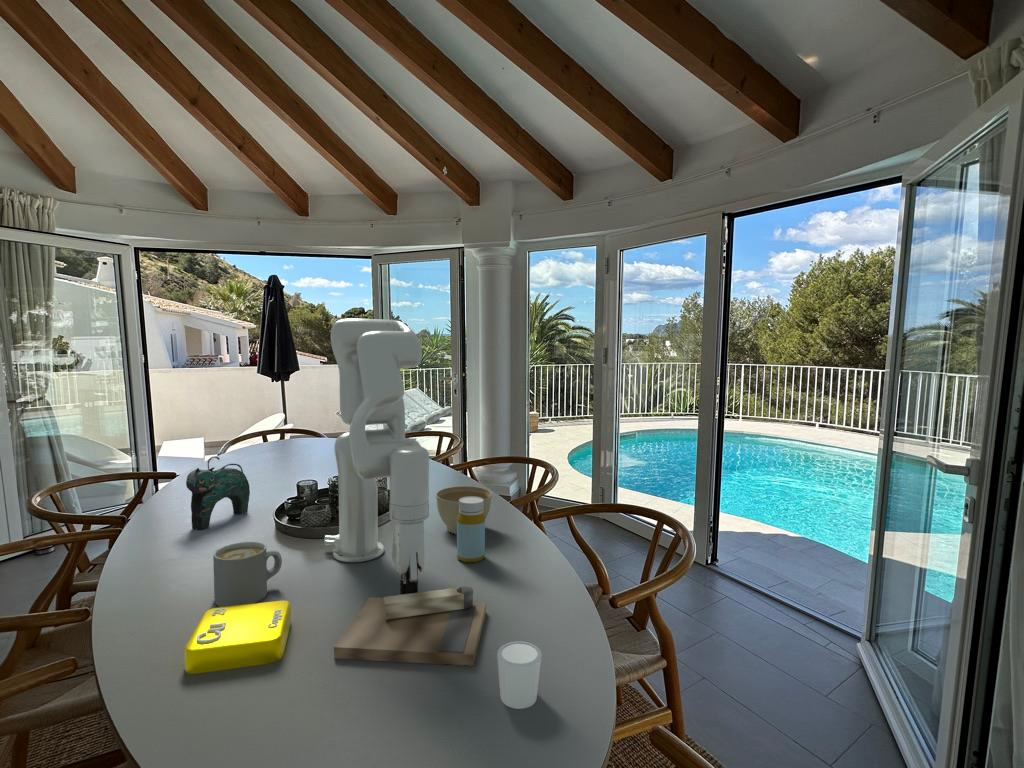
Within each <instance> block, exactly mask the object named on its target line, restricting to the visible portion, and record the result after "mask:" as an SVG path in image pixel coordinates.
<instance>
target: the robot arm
mask: <svg viewBox="0 0 1024 768" xmlns="http://www.w3.org/2000/svg"><path fill="white" fill-rule="evenodd" d="M330 344H331V349H332V352H333V356H334V358H335V362H336V364H337V366H338V371H339V373H338V374H339V411H340V412H339V413H340V418H341V420H342V422H343V423H344V424H345V425H349V431H347V432H344V433H342V434H340V435H339V436H337V438H336V440H335V442H334V447H333V448H334V449H333V450H334V456H335V463H336V468H337V478H338V479H337V480H338V534H337V535H332V534H330V535H329V534H325V535H324V539H323V542H324V546H333V547H334V548H333V550H332V557H333V558H334V559H336V560H337V561H339V562H343V563H362V562H369V561H371V560H374V559H376V558H379V557H381V556H382V554H384V552H385V545H384V544H383V543H381V542H380V541H378V540H379V538H378V535H379V533H378V525H379V523H378V522H379V520H378V518H379V517H378V515H379V514H378V509H379V508H378V507H379V506H378V505H379V504H378V503H379V502H378V501H379V500H378V499H379V498H378V497H379V496H378V495H379V494H378V492H379V491H378V484H377V480H376V479H384V478H389V520H391V522H392V524H393V525H392V544H391V545H392V548H391V557H392V562H393V565H394V568H395V570H396V573H398V574H399V575H400V580H399V581H400V582H399V584H400V585H399V588H400V591H399V595H403V594H411V593H419V581H418V579H419V578H418V577H419V572H420V573H422V572H423V571H424V569H425V567H424V566H425V525H424V523H425V522H424V521H426V520H427V519H429V517H430V516H429V515H430V510H429V509H430V452H429V451H428V449H427V448H425V447H424V446H422V445H421V444H420V442H419V441H418V440H416V439H414V438H406V411H405V410H406V409H405V406H406V405H405V401H404V396H405V387H404V383H403V378H402V374H401V368H403V369H406V368H407V369H408V368H411V369H412V368H416V367H417V366H419V364H421V361H422V357H423V347H422V344H421V341H420V339H419V337H418V335H417V334H416V333H415V331H414V330H413V329H411V328H410V326H407V325H406V324H405V323H404V322H402V321H401V320H397V319H380V318H379V319H377V318H376V319H375V318H362V317H361V318H360V317H359V318H357V317H356V318H355V317H354V318H353V317H352V318H349V317H348V318H343V319H338V320H337V321H335V322H334V323H333V325H332V326H331V329H330ZM371 425H373V426H374V425H383V426H384V428H382V429H366V426H371Z"/></svg>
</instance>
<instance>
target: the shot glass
mask: <svg viewBox="0 0 1024 768" xmlns="http://www.w3.org/2000/svg"><path fill="white" fill-rule="evenodd" d="M542 654H543V653H542V651H541V649H540V648H539V646H537V645H535V644H534V643H531V642H527V641H519V640H518V641H517V640H516V641H509V642H508V643H505V644H503V645H501V646H500V647H499V648H498V649H497V654H496V659H497V672H498V681H499V682H498V685H499V696H500V699H501V702H502V703H503V704H504V705H505V706H507V707H509V708H512V709H517V710H518V709H519V710H522V709H528V708H529V707H531V706H534V704H535V703H536V702H537V699H538V698H537V697H538V692H539V691H538V689H539V682H540V681H539V680H540V672H541V665H542V664H541V663H542Z"/></svg>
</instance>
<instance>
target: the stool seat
mask: <svg viewBox="0 0 1024 768" xmlns="http://www.w3.org/2000/svg"><path fill="white" fill-rule="evenodd" d="M486 613H487V602H474V601H473V606H472V607H471V608H468V609H459V610H452V611H445V612H437V613H430V614H423V615H416V616H409V617H401V618H394V619H387V620H385V615H384V597H368V599H367V600H366V601H365V603H364V604H363V605H362V607H361V609H360V610H359V612H358V613H357V614H356V615H355V617H354V618H353V619H352V621H351V622H350V623H349V625H348V626H347V628H346V629H345V631H344V633H343V634H342V635H341V637H339V640H338V641H337V642H336V644H335V645H334V647H333V657H334V659H338V660H339V659H340V660H356V661H359V660H360V661H376V662H392V663H393V662H394V663H396V662H397V663H411V664H413V663H414V664H415V663H416V664H429V663H430V664H431V665H445V664H451V665H450V666H464V665H468V667H474V665H475V662H476V661H475V660H476V657H477V652H478V648H479V645H480V640H481V635H482V632H483V631H482V630H483V626H484V622H485V617H486ZM474 661H475V662H474Z"/></svg>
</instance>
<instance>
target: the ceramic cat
mask: <svg viewBox="0 0 1024 768" xmlns="http://www.w3.org/2000/svg"><path fill="white" fill-rule="evenodd" d="M214 458H215V459H217V460H218V461H220V457H218V456H212V457H211V456H210V458H209V459H208V460H207V469H200V468H199V467H197V468H195V469H193V470H192V471H190V473H189V474H188V475H187V477H186V481H185V486H186V488H187V489H188V490H189V491H190V492H191V502H190V510H191V528H192V530H198V531H203V530H206V529H207V528H208V529H209V527H210V523H211V516H212V513H213V511H214V508H215V506H216V505H217V503H218V502H220V501H221V500H223V499H224V498H227V499H228V500H230V501H231V505H232V509H233V511H232V513H233V515H238V516H240V515H241V516H242V515H245V514H247V513H248V512H249V502H250V495H251V493H250V492H251V491H250V490H251V489H250V484H249V480H248V479H247V476H246V474H245V473H244V470H243V468H242V466H241V465H240V464H239V463H228V464H226V465H224V466H223V467H220V468H218V469H216V468H215V467H211V468H210V461H212V459H214ZM228 466H236V467H238V468H239V469H240V470H239V469H238V468H230V467H228ZM214 469H216V470H214Z"/></svg>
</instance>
